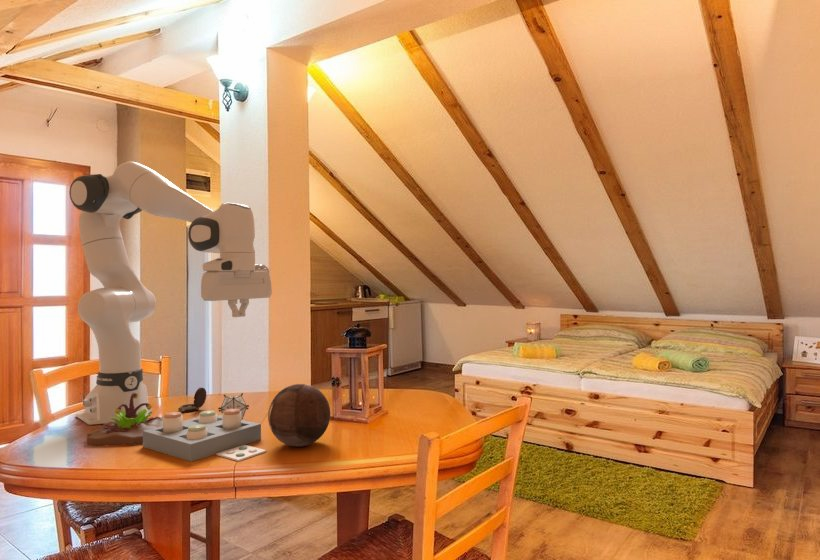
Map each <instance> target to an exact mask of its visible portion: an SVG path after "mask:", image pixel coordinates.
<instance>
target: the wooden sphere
mask: <svg viewBox="0 0 820 560" xmlns="http://www.w3.org/2000/svg"><path fill="white" fill-rule="evenodd" d="M267 418H268V419H267V420H268V426H269V428H270V430H271V432H272V435H274V437H275V438H276V439H277V440H278V441H280V442H281V443H282V444H284V445H287V446H290V447H294V448H295V447H296V448H298V447H299V448H300V447H305V446H309V445H312V444H313V443H315V442H317V441H318V440H320V439H321V437H323V435H324V434H325V433H326V431H327V429H328V427H329V424H330V420H331V407H330V404H329V401H328V399H327V397H326V396H325V395H324V393H323V392H322V391H320V389H318V388H316V387H315V386H312V385H310V384H305V383H296V384H292V385H291V384H290V385H289V386H286V387H283V389H282V390H280V391H279V392H278V393H277V394H276V395H275V396H274V397H273V399H272V401H271V402H270V405H269V408H268V413H267Z"/></svg>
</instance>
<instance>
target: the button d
mask: <svg viewBox="0 0 820 560" xmlns="http://www.w3.org/2000/svg"><path fill="white" fill-rule="evenodd" d="M223 412H224V413H221V415H222V426H223V429H227V430H232V429H236V428H239V427H242V422H241V411H240V409H227V410H224V411H223Z"/></svg>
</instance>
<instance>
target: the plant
mask: <svg viewBox="0 0 820 560" xmlns="http://www.w3.org/2000/svg"><path fill="white" fill-rule="evenodd" d="M137 397H138V394H137V393H132V395H131V397H130V398H131V399H130V404H129V408H128V406H127V405H125V404H122V405H121V406H119V407H118V408H117V409H116V410H115V412H116V413H117V414H116V416H118V417H119V418H120V420H118V419H116V418H114V417H110V418H111V419H112V420H115V421H114V422H109V423H106V424H102V425H101V426H100V427H98V428H96V429H93V430H91V431H90V432H88V433H87V435H86V436H87V437H86V442H87V445H88V446H90V445H91V447H106V446H105V445H109V446H123V445H122V444H126V445H125V446H135V445H134V444H136V445H143V444H142V443H143V431H144V430H148V429H152V428H156V427H160V426H163V416H155V417H153V416H152V417H151V415H152V414H153V413H152V412H150V413H148V415H147V416H145V414H146V412H147V410H146V409H144V410H142V411H140V412H139V413H138V414H137V413H136V412H137V410H138V409H139V408H140V407H141V406H143V405H146V408H147V409H148V410H151V408H152V407H153V406H152V404H151V403H149V402H148V403H142V404H140V405H139V406H137V407H136V408H135V409H134V403H133V402H134V401H133V398H137ZM122 406H124V407H125V411H126V412H122V411H121V407H122ZM152 409H153V408H152ZM118 413H120V415H118Z"/></svg>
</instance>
